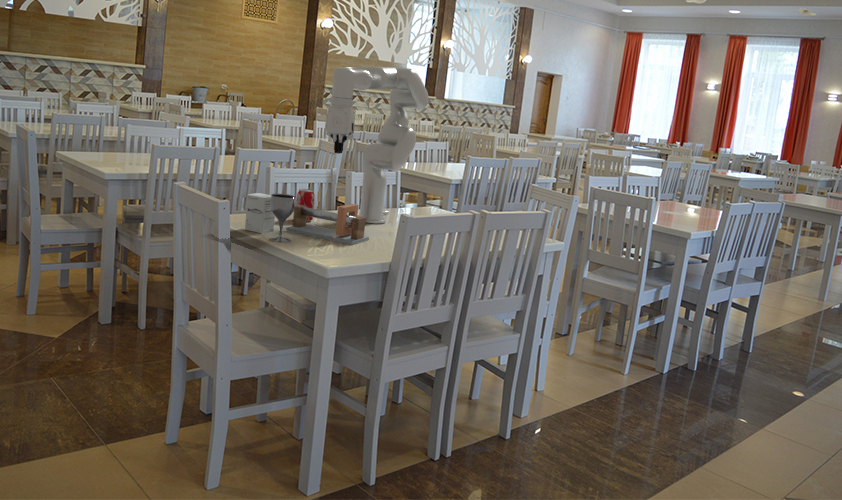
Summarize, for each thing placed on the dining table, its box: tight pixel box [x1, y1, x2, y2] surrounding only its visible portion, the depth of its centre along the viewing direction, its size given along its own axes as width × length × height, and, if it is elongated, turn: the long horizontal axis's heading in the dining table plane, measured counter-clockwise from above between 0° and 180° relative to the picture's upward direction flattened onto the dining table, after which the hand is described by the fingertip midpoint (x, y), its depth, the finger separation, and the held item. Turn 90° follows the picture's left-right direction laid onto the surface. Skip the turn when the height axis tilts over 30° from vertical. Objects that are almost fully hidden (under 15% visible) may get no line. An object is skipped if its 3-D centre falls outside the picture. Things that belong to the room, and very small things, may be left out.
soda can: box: [295, 188, 316, 223], centre depth 260 cm, size 7×7×12 cm
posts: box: [292, 205, 366, 240], centre depth 239 cm, size 26×5×8 cm, turn 67°
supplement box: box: [244, 192, 275, 235], centre depth 233 cm, size 7×7×13 cm
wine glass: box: [268, 193, 297, 244], centre depth 222 cm, size 8×8×15 cm
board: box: [285, 223, 370, 246], centre depth 239 cm, size 27×12×1 cm, turn 67°
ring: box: [335, 203, 359, 236], centre depth 235 cm, size 2×10×10 cm, turn 157°
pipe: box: [301, 207, 355, 225], centre depth 238 cm, size 24×4×4 cm, turn 67°
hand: (338, 152), depth 249 cm, fingers closed
